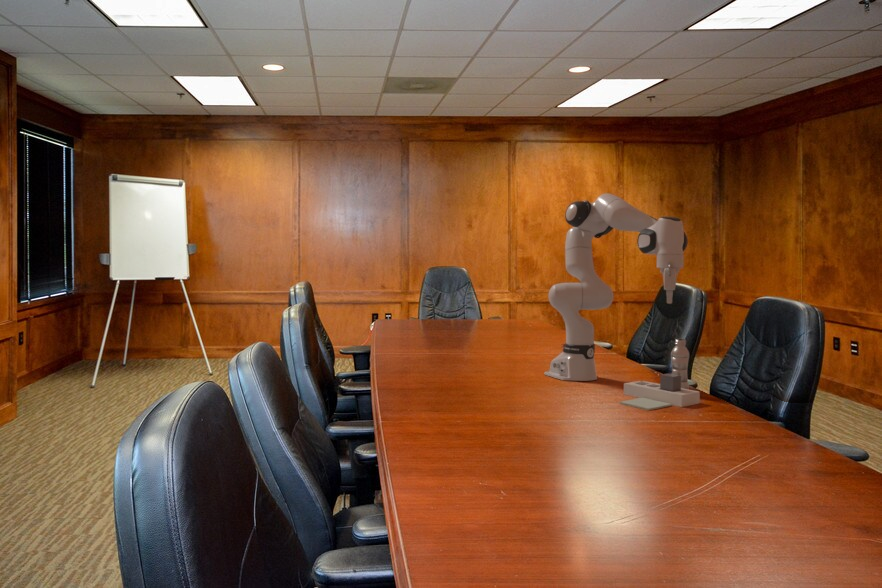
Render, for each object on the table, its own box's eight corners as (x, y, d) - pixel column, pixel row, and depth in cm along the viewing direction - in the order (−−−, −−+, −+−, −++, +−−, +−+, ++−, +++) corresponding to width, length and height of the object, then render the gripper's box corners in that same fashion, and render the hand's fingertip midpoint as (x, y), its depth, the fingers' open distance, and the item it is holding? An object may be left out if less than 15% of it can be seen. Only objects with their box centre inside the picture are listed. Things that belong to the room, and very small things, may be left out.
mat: (619, 403, 224) (619, 401, 224) (642, 399, 231) (642, 397, 231) (648, 410, 214) (648, 408, 214) (671, 405, 221) (671, 404, 221)
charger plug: (659, 400, 229) (660, 374, 229) (668, 398, 232) (668, 373, 231) (672, 403, 225) (673, 376, 225) (680, 401, 228) (681, 375, 227)
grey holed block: (623, 394, 239) (623, 382, 238) (641, 391, 244) (641, 379, 244) (681, 407, 219) (681, 394, 219) (699, 403, 225) (699, 390, 224)
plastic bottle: (685, 392, 242) (687, 338, 241) (690, 396, 236) (692, 340, 235) (667, 392, 243) (668, 338, 242) (672, 396, 236) (673, 340, 235)
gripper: (680, 262, 219) (679, 304, 219) (679, 263, 238) (678, 302, 238) (659, 262, 221) (659, 304, 221) (660, 263, 240) (660, 301, 240)
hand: (669, 303), depth 230 cm, fingers open, 8 cm apart
